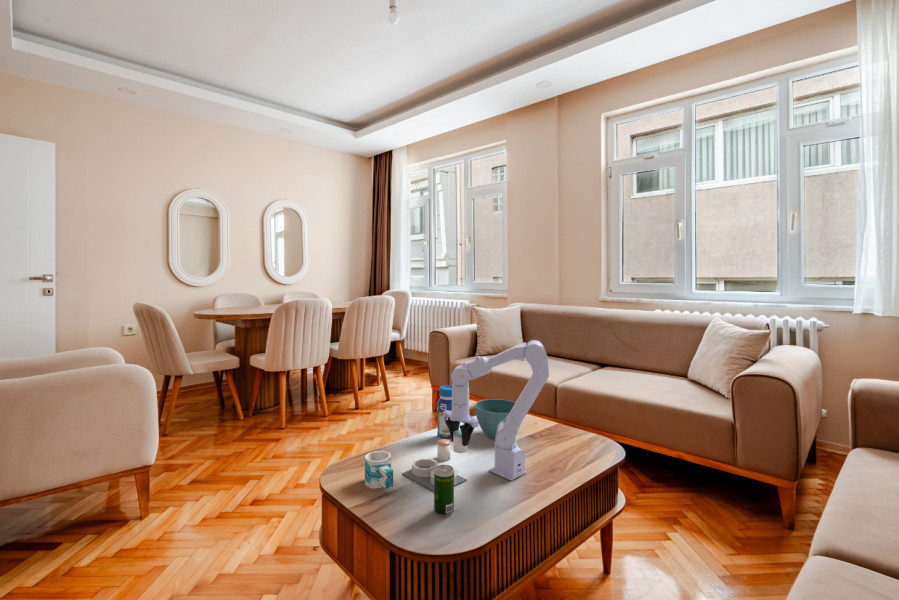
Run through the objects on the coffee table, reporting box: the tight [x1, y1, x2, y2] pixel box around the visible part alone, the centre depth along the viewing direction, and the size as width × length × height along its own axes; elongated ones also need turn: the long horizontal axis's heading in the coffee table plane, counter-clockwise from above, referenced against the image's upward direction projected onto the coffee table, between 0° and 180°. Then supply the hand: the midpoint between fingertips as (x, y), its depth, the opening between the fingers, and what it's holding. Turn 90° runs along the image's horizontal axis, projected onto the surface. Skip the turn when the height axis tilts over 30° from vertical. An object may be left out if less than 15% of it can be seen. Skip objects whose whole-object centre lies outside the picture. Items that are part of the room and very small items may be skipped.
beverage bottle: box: [436, 384, 452, 442], centre depth 169 cm, size 8×8×20 cm
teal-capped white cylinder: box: [452, 429, 468, 454], centre depth 142 cm, size 4×4×6 cm
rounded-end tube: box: [436, 439, 451, 462], centre depth 150 cm, size 4×4×6 cm
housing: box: [402, 457, 468, 493], centre depth 136 cm, size 17×12×3 cm
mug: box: [364, 450, 394, 490], centre depth 131 cm, size 8×12×8 cm
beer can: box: [433, 464, 455, 518], centre depth 116 cm, size 5×5×12 cm
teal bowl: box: [474, 398, 516, 440], centre depth 171 cm, size 18×18×12 cm
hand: (460, 443), depth 142 cm, fingers closed on teal-capped white cylinder, 4 cm apart
